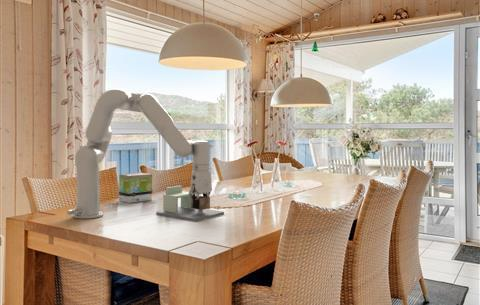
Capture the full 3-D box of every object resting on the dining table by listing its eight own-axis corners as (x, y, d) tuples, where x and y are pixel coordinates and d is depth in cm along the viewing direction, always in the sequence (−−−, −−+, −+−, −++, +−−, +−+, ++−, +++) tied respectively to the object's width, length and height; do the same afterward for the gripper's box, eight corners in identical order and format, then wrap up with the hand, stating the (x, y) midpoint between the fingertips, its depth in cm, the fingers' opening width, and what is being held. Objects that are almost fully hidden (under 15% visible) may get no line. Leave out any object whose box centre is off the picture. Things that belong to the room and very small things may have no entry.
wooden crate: (201, 210, 183) (201, 198, 183) (191, 208, 187) (191, 197, 186) (209, 208, 188) (210, 197, 188) (199, 206, 192) (199, 195, 191)
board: (196, 221, 176) (196, 209, 176) (156, 214, 190) (156, 203, 189) (224, 214, 193) (224, 203, 192) (185, 208, 206) (185, 197, 206)
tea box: (130, 203, 216) (130, 175, 215) (118, 201, 222) (118, 174, 221) (152, 200, 228) (152, 173, 227) (140, 198, 234) (140, 172, 233)
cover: (175, 212, 187) (176, 189, 187) (163, 210, 192) (163, 188, 191) (194, 208, 198) (195, 186, 198) (182, 206, 203) (182, 185, 202)
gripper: (195, 170, 177) (194, 211, 178) (219, 167, 192) (218, 205, 193) (182, 168, 182) (181, 209, 183) (206, 166, 196) (205, 203, 197)
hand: (200, 207), depth 188 cm, fingers closed on wooden crate, 6 cm apart
